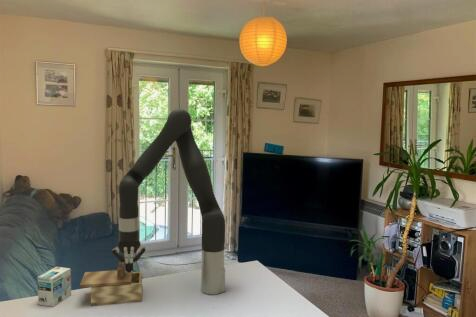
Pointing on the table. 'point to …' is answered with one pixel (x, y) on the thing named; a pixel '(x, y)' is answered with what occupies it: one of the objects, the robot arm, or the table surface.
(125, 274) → the lid
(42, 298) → the light bulb box
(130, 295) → the wooden box
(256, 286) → the table surface
